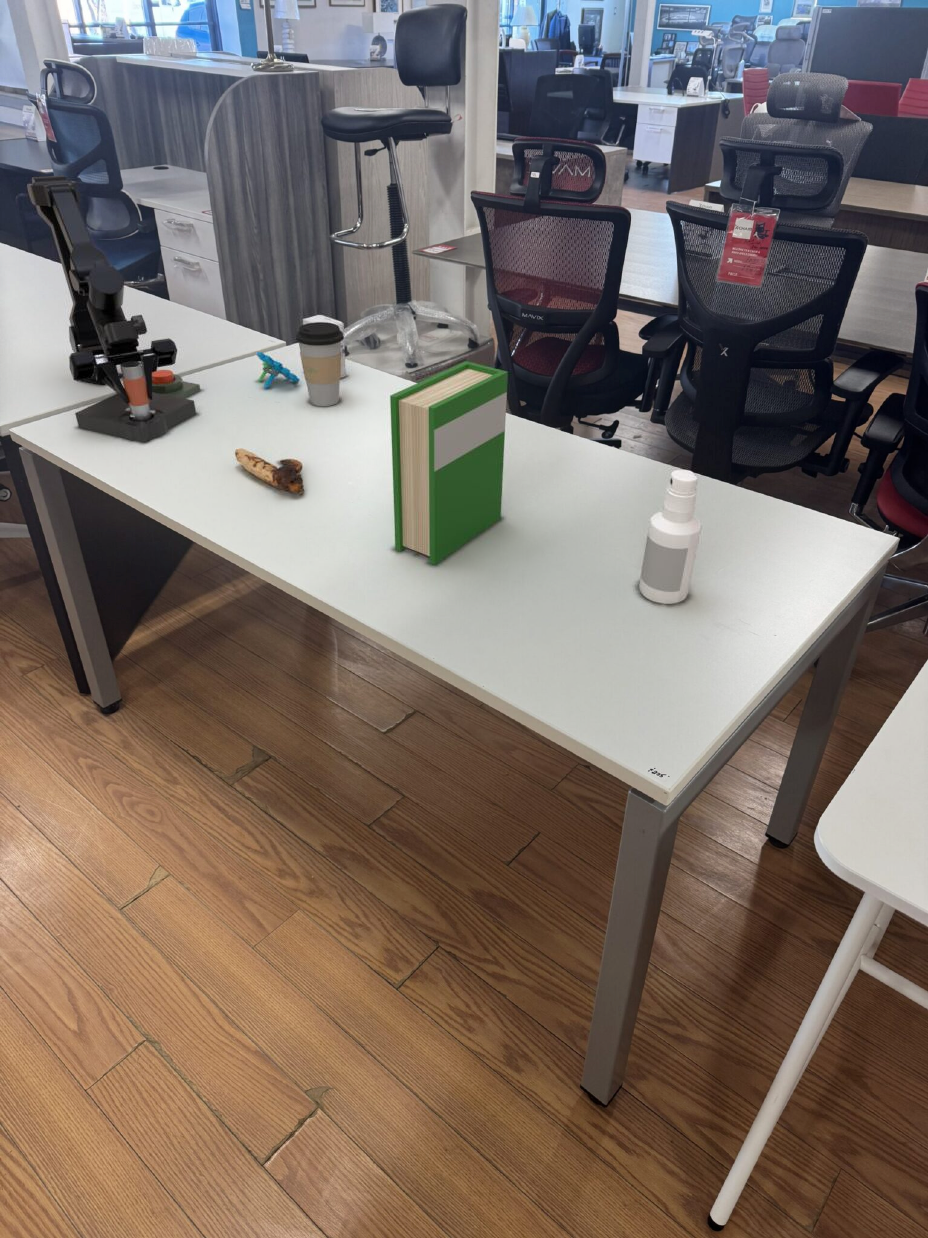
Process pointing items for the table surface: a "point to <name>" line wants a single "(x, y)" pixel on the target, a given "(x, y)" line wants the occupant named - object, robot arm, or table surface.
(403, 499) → the hardback book
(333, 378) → the coffee cup
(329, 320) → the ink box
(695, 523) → the spray bottle
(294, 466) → the lashed bone hook
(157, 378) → the release button
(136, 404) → the silver-capped orange cylinder
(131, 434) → the grinder base
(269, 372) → the blue toy gun
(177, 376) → the button block
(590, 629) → the table surface
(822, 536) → the table surface
